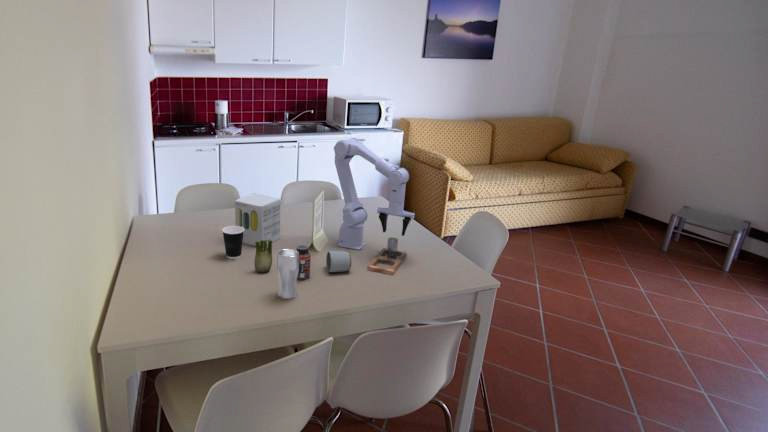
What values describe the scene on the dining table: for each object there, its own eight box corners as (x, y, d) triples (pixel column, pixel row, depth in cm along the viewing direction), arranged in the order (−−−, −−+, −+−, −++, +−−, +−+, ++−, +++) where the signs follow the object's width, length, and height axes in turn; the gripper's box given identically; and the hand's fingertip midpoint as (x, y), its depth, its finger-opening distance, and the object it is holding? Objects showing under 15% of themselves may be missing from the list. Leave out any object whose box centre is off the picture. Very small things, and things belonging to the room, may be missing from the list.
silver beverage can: (278, 289, 164) (278, 247, 159) (299, 290, 165) (300, 248, 160) (275, 299, 157) (275, 256, 152) (297, 300, 158) (298, 257, 153)
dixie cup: (243, 251, 190) (243, 225, 187) (245, 260, 183) (245, 232, 180) (222, 253, 188) (221, 226, 184) (223, 261, 181) (222, 233, 177)
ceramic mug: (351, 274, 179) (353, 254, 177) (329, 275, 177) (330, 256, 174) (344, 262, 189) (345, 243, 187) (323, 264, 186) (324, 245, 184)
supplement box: (234, 241, 200) (233, 200, 194) (254, 231, 211) (254, 192, 206) (262, 248, 195) (262, 206, 190) (280, 238, 207) (281, 198, 201)
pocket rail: (367, 269, 184) (367, 266, 183) (383, 251, 202) (383, 247, 202) (392, 275, 181) (393, 271, 181) (406, 255, 199) (407, 252, 199)
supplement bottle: (306, 281, 171) (307, 251, 167) (290, 279, 172) (290, 249, 168) (312, 274, 176) (313, 245, 173) (296, 272, 177) (297, 242, 174)
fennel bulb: (272, 268, 178) (272, 238, 175) (270, 274, 174) (270, 243, 170) (256, 267, 178) (256, 236, 174) (253, 273, 174) (253, 242, 170)
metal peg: (385, 258, 195) (386, 240, 192) (388, 255, 199) (389, 236, 196) (394, 260, 194) (396, 241, 191) (397, 257, 198) (399, 238, 195)
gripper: (417, 200, 191) (414, 233, 195) (381, 194, 194) (379, 226, 199) (413, 205, 184) (409, 239, 188) (376, 199, 188) (373, 232, 192)
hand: (393, 233), depth 193 cm, fingers open, 7 cm apart
